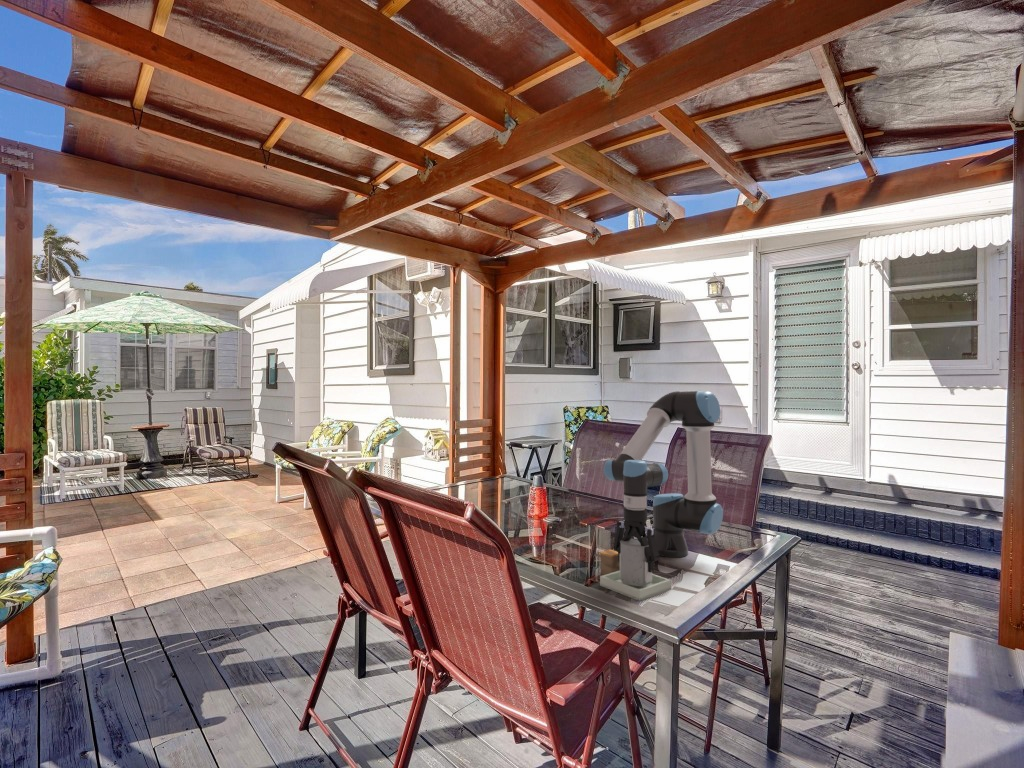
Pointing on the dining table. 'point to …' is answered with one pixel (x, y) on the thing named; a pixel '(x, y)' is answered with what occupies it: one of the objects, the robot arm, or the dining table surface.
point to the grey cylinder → (633, 563)
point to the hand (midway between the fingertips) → (635, 577)
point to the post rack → (609, 562)
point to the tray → (635, 592)
